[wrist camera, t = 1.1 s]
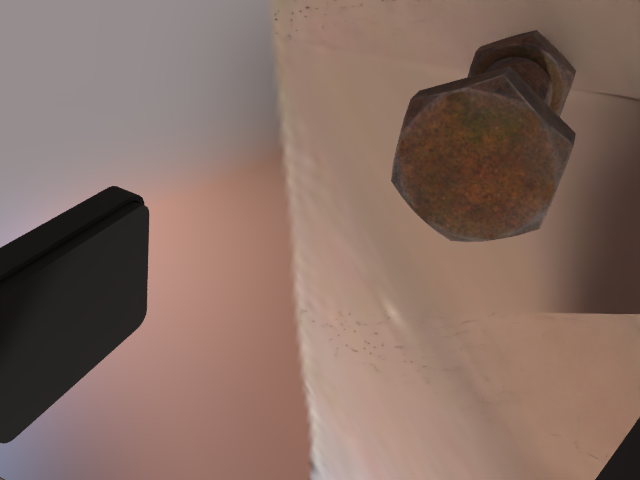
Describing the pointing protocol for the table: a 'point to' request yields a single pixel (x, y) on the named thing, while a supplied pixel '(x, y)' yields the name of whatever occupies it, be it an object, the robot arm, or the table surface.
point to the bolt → (488, 142)
